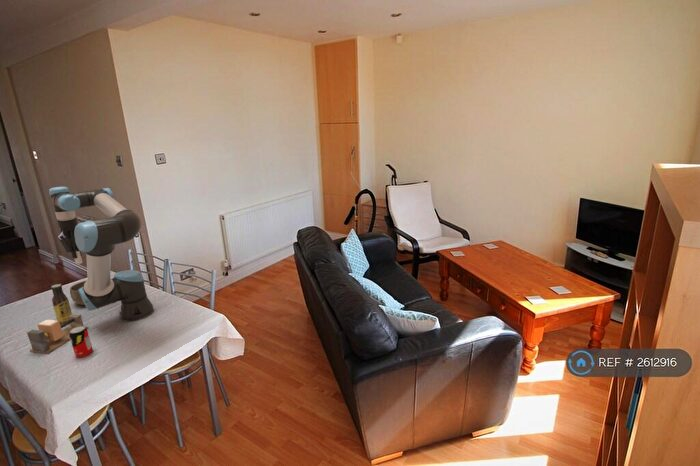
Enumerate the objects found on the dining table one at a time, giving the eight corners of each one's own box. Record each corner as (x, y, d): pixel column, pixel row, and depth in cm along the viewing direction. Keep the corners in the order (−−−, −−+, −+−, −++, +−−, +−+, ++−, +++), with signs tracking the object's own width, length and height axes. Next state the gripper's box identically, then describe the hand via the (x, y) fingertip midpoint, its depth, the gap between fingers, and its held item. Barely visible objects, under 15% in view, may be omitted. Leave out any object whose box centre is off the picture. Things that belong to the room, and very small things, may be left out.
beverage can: (82, 349, 160) (75, 325, 156) (96, 349, 160) (89, 325, 156) (71, 358, 154) (64, 333, 150) (86, 358, 154) (79, 333, 150)
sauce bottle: (65, 326, 178) (54, 289, 172) (55, 324, 180) (43, 288, 173) (77, 319, 184) (66, 283, 178) (67, 317, 186) (56, 282, 179)
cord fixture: (71, 326, 178) (66, 308, 175) (88, 328, 176) (83, 310, 173) (29, 351, 159) (23, 332, 156) (48, 354, 157) (41, 334, 154)
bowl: (102, 290, 214) (98, 275, 211) (116, 298, 204) (112, 282, 201) (68, 302, 201) (63, 286, 198) (80, 312, 191) (75, 294, 188)
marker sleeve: (63, 335, 165) (58, 320, 163) (55, 341, 162) (50, 325, 159) (51, 334, 167) (45, 319, 164) (42, 339, 163) (37, 324, 160)
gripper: (72, 214, 185) (84, 258, 192) (47, 222, 173) (61, 267, 180) (84, 215, 183) (96, 258, 191) (60, 222, 171) (73, 268, 179)
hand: (79, 263), depth 185 cm, fingers closed
